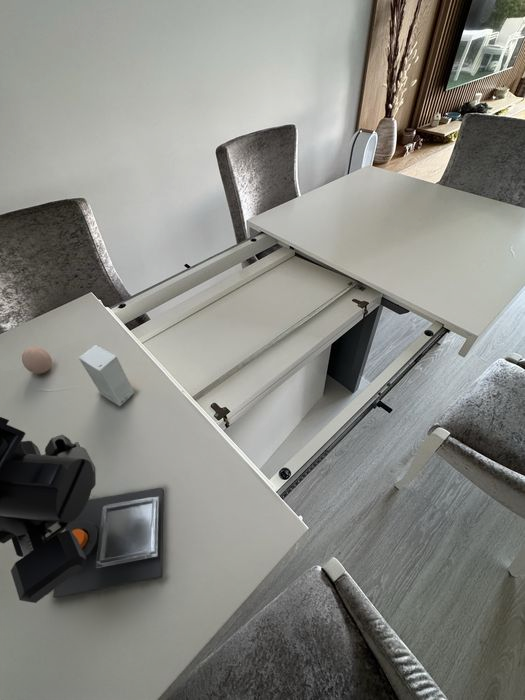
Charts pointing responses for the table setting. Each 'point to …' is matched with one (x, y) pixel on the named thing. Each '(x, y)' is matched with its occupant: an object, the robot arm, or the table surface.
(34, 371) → the egg
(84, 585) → the scale
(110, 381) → the cosmetic box
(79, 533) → the button
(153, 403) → the table surface
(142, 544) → the brushed steel platform
